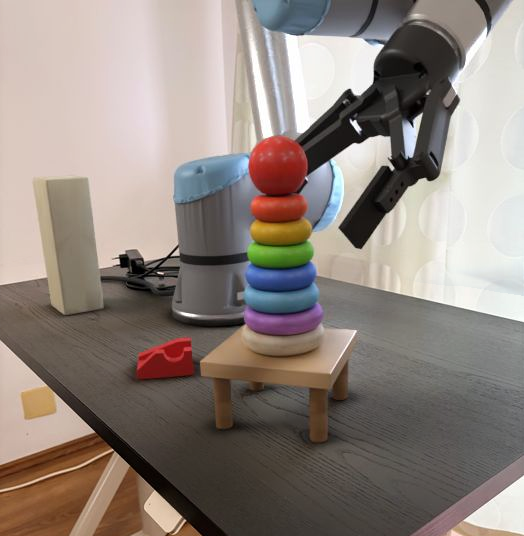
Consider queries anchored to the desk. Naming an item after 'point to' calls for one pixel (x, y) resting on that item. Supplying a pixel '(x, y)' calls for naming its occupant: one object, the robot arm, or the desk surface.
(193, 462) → the desk surface
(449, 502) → the desk surface
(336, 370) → the stool
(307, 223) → the stacking toy
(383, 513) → the desk surface
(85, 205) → the white rectangular block
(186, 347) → the red notched block
